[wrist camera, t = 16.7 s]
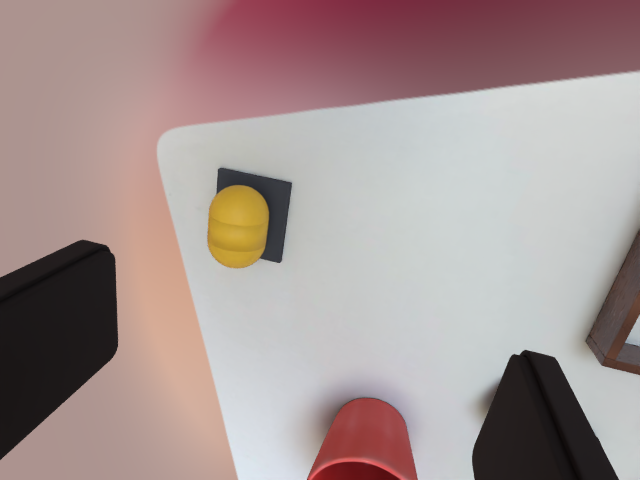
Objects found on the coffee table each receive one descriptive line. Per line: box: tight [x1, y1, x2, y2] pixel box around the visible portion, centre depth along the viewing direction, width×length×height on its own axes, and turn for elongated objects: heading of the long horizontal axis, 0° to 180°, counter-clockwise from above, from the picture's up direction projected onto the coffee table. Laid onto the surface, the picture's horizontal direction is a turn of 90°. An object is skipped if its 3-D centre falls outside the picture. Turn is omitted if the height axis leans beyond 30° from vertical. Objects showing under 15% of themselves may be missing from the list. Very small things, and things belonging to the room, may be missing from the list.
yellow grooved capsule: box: [207, 185, 269, 268], centre depth 37 cm, size 8×5×5 cm
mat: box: [217, 168, 292, 263], centre depth 40 cm, size 8×7×1 cm
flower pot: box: [307, 398, 418, 480], centre depth 41 cm, size 11×11×10 cm
